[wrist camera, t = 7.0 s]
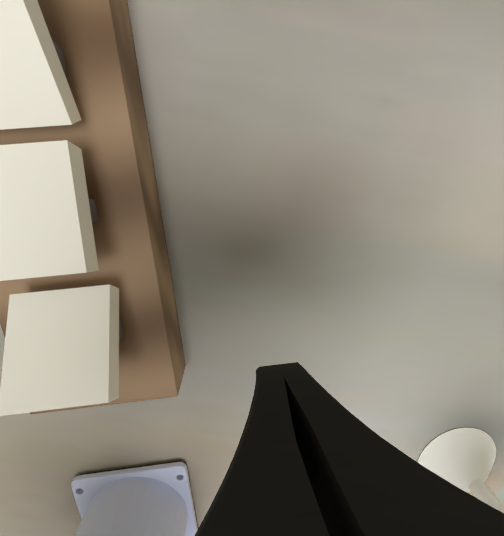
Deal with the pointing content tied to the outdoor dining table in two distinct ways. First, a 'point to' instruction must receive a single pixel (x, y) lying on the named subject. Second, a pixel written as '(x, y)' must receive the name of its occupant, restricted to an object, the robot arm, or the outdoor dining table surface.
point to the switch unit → (113, 194)
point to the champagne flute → (464, 461)
